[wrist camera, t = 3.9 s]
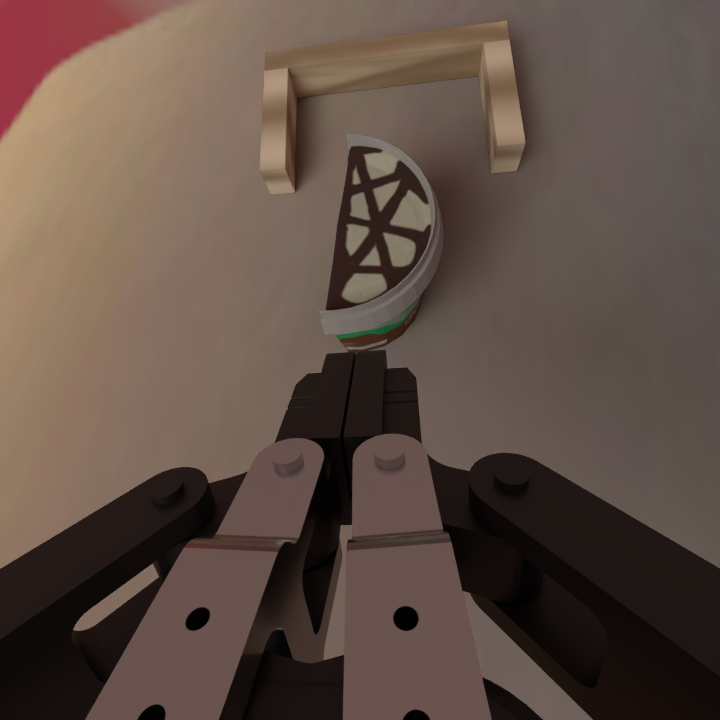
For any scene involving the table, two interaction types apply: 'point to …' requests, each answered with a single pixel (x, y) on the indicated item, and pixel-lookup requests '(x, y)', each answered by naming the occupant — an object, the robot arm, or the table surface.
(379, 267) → the food container
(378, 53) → the wooden bridge piece
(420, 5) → the table surface
